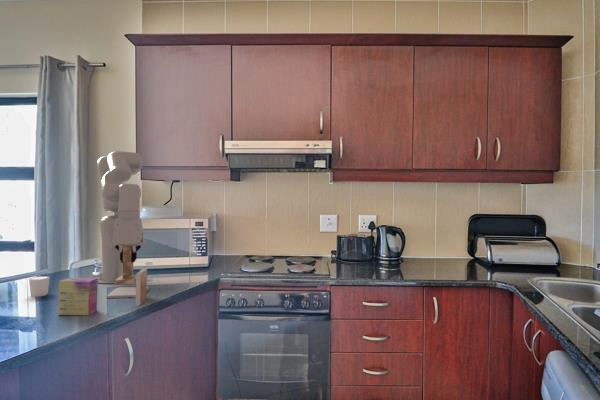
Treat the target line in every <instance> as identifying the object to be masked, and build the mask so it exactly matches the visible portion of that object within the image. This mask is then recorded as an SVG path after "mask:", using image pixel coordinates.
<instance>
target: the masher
mask: <svg viewBox="0 0 600 400" xmlns="http://www.w3.org/2000/svg"><path fill="white" fill-rule="evenodd" d="M132 251H133V249H132V245H125V246H123V276H120V277H119V278H117V279H116V280H115V283H114V284H115V285H118V284H119V285H121V284H123V285H125V284H128V285H129V284H136V275H134V262H133V263H132V262H131V253H132Z"/></svg>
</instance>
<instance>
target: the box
mask: <svg viewBox="0 0 600 400" xmlns="http://www.w3.org/2000/svg"><path fill="white" fill-rule="evenodd" d="M98 279H99V277H93V278H92V277H91V278H88V277H87V278H86V277H85V278H84V277H67V278H64V279H61V280H59V281H58V305H57V306H58V307H57V308H58V309H57V315H58V316H86V315H87V316H89V315H92V314H93V313H95V312H97V310H98V283H99V282H98Z"/></svg>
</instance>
